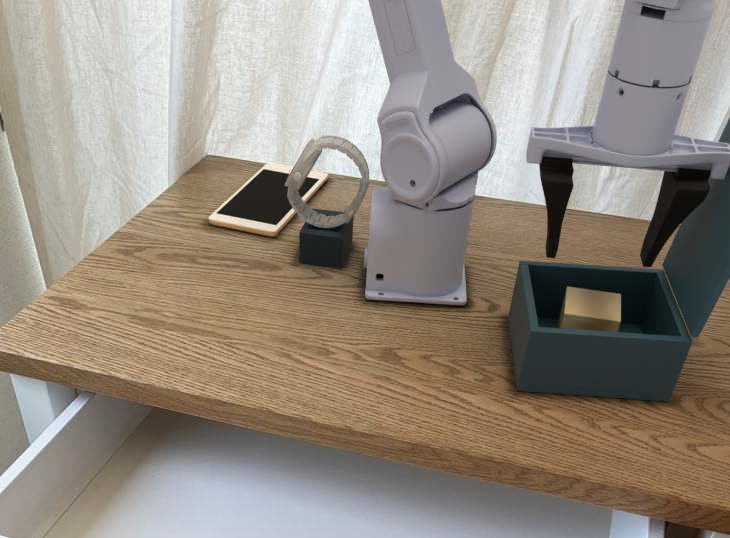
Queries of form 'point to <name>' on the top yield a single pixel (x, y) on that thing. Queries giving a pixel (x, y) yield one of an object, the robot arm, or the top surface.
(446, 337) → the top surface
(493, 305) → the top surface
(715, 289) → the lid
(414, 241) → the robot arm
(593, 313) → the block
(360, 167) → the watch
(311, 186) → the cell phone
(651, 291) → the chest
